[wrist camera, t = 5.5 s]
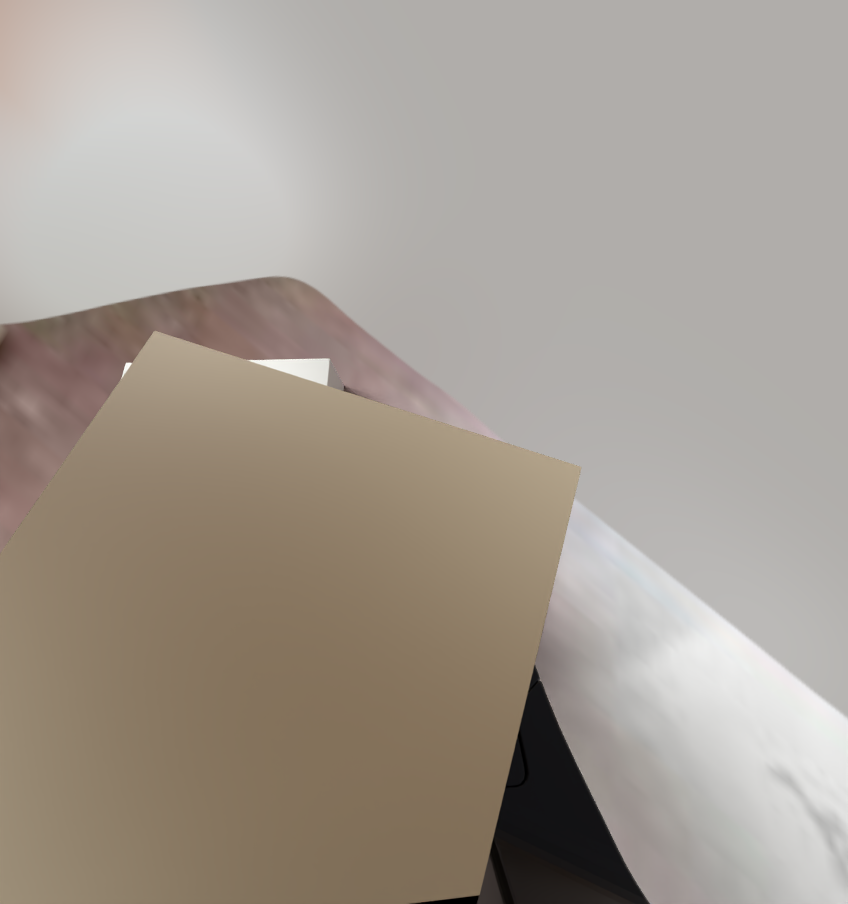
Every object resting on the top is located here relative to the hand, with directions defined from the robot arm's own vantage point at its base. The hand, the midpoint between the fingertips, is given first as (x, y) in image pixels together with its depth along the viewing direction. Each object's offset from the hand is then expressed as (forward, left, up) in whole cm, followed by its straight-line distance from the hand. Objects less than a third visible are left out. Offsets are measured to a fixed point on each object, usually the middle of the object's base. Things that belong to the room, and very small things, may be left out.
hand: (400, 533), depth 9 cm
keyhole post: (-1, +1, -8) cm, 8 cm away
